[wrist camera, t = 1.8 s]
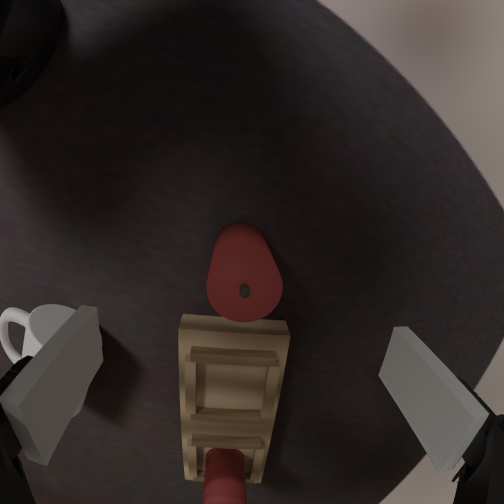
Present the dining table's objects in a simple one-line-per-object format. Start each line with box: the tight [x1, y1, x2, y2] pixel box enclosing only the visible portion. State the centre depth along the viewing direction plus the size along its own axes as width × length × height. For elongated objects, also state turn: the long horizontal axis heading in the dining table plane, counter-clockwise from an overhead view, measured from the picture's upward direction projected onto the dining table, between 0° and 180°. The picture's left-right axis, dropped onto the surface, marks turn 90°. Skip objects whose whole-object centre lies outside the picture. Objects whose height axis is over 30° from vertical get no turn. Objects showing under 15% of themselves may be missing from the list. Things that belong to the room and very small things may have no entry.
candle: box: [206, 222, 283, 322], centre depth 24 cm, size 5×5×11 cm
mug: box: [0, 304, 102, 418], centre depth 27 cm, size 12×10×8 cm
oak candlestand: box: [178, 314, 291, 504], centre depth 27 cm, size 24×10×14 cm, turn 175°
